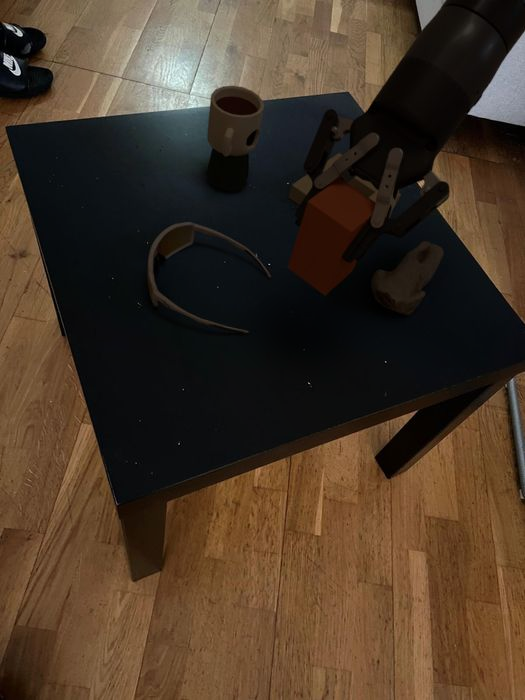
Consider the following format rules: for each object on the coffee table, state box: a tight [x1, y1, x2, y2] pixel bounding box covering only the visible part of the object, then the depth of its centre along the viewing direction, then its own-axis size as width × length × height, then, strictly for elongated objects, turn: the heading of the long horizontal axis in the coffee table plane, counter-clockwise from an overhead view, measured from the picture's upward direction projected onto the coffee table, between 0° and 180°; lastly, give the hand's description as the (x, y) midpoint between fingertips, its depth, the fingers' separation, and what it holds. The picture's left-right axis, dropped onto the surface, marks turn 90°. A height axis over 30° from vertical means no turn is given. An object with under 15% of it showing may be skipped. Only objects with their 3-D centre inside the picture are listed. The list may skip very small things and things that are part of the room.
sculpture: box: [370, 240, 445, 316], centre depth 73 cm, size 7×5×15 cm
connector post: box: [287, 178, 376, 296], centre depth 52 cm, size 5×5×9 cm
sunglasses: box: [146, 221, 272, 334], centre depth 68 cm, size 14×15×5 cm
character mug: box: [205, 85, 265, 192], centre depth 76 cm, size 11×7×13 cm, turn 170°
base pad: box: [288, 152, 402, 208], centre depth 82 cm, size 12×12×2 cm
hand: (323, 243), depth 51 cm, fingers closed on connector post, 5 cm apart
